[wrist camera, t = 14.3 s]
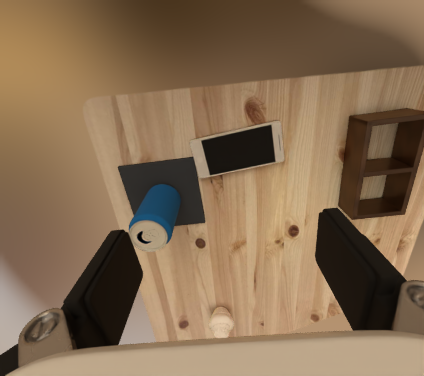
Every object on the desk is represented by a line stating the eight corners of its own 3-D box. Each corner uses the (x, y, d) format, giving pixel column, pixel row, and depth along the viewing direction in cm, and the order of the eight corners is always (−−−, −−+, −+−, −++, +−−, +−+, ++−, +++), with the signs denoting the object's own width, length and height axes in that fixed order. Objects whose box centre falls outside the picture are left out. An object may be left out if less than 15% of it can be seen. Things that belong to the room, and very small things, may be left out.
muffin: (211, 319, 60) (211, 347, 54) (207, 304, 58) (206, 331, 52) (234, 316, 60) (236, 344, 54) (231, 301, 57) (233, 329, 51)
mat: (118, 166, 42) (117, 167, 41) (193, 156, 41) (193, 157, 40) (139, 228, 48) (138, 229, 47) (205, 221, 47) (205, 222, 46)
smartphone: (189, 140, 39) (188, 141, 38) (279, 119, 37) (281, 120, 37) (199, 177, 42) (199, 179, 41) (283, 159, 41) (284, 161, 40)
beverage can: (140, 191, 43) (116, 229, 32) (169, 176, 42) (153, 211, 31) (160, 216, 46) (143, 259, 35) (187, 203, 44) (178, 244, 33)
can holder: (349, 115, 37) (367, 121, 33) (406, 108, 37) (433, 112, 32) (337, 205, 45) (351, 220, 40) (385, 200, 44) (404, 214, 40)
